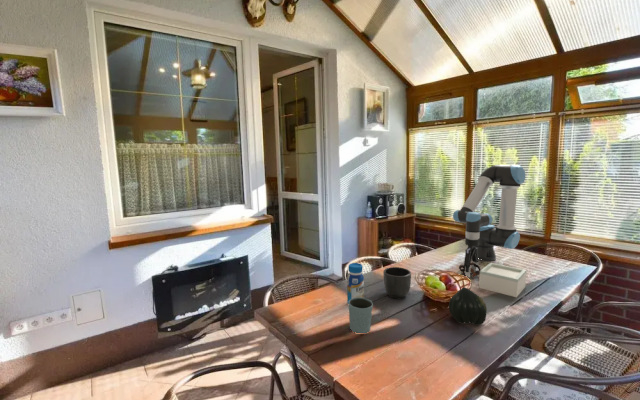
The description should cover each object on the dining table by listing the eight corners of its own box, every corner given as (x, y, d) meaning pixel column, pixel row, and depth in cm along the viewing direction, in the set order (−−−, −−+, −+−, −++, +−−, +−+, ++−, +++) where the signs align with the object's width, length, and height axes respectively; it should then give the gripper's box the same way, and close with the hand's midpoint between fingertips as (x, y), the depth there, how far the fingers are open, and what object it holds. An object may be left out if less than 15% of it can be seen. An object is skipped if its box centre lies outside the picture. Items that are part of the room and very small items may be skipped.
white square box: (489, 278, 187) (490, 262, 186) (525, 286, 175) (526, 269, 173) (478, 287, 174) (479, 270, 173) (516, 297, 162) (517, 279, 161)
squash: (485, 323, 128) (486, 287, 135) (445, 316, 135) (448, 282, 142) (486, 332, 138) (487, 298, 145) (449, 325, 145) (452, 293, 153)
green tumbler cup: (348, 323, 140) (347, 297, 139) (371, 323, 140) (371, 297, 138) (349, 336, 130) (349, 308, 129) (374, 336, 130) (374, 308, 128)
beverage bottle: (352, 298, 164) (352, 261, 161) (367, 302, 159) (367, 264, 157) (343, 304, 157) (343, 265, 155) (359, 309, 153) (358, 269, 150)
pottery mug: (473, 271, 199) (479, 262, 194) (477, 283, 191) (484, 274, 186) (454, 267, 198) (460, 258, 194) (458, 279, 191) (464, 269, 186)
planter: (383, 288, 175) (383, 266, 173) (409, 290, 172) (410, 267, 170) (383, 300, 162) (383, 275, 160) (411, 302, 159) (412, 277, 157)
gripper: (472, 233, 200) (470, 268, 203) (458, 241, 184) (457, 278, 187) (485, 235, 195) (483, 271, 198) (472, 243, 179) (470, 281, 182)
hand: (470, 274), depth 193 cm, fingers open, 9 cm apart
